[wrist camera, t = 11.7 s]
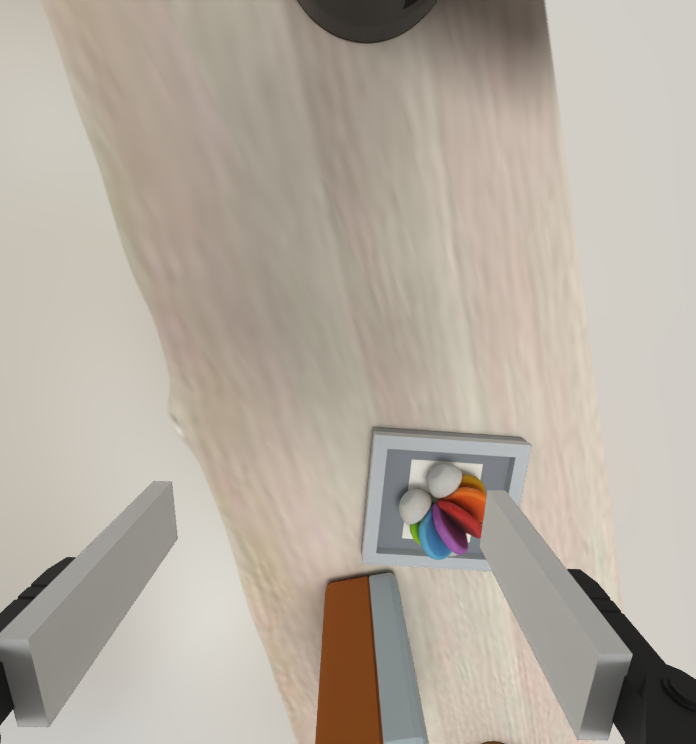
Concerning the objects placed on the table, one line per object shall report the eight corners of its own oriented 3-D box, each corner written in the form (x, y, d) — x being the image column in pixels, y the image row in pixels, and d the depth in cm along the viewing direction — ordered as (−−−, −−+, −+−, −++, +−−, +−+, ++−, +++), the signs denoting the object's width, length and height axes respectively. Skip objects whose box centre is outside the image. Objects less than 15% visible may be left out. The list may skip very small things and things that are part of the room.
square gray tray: (373, 427, 39) (374, 434, 37) (521, 437, 39) (531, 445, 37) (361, 550, 42) (362, 563, 40) (498, 558, 43) (506, 572, 41)
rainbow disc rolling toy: (498, 496, 40) (531, 539, 32) (434, 548, 41) (453, 601, 34) (449, 447, 38) (473, 481, 31) (385, 502, 40) (394, 547, 32)
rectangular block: (324, 577, 43) (307, 821, 23) (393, 565, 43) (437, 801, 23) (353, 690, 47) (359, 984, 27) (416, 680, 47) (471, 969, 27)
